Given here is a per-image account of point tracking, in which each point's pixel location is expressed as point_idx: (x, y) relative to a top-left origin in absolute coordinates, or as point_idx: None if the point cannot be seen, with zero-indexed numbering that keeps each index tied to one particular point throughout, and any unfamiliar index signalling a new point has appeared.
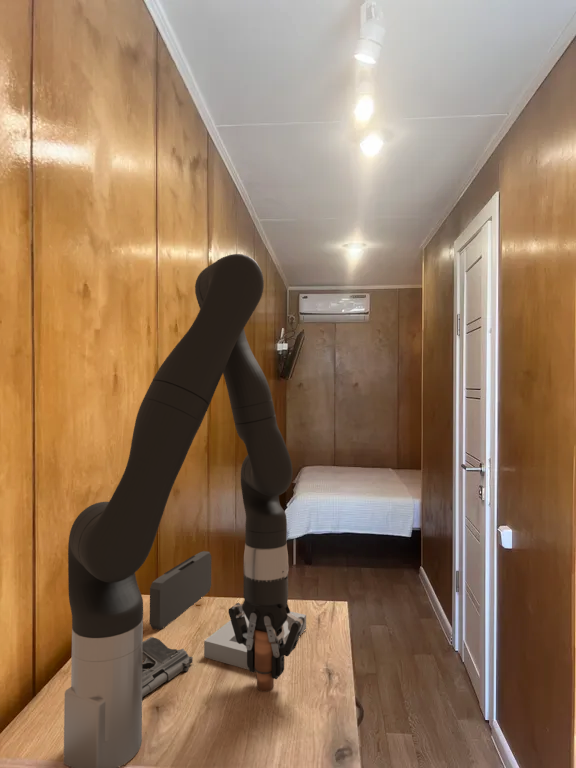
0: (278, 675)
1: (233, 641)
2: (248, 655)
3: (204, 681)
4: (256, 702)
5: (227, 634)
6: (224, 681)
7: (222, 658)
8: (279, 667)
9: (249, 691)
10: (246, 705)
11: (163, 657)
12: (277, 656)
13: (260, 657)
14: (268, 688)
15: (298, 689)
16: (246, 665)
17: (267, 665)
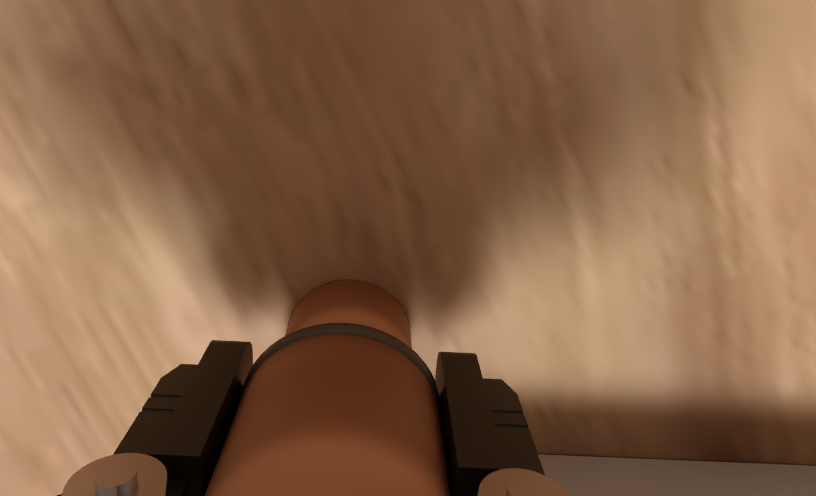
0: (189, 367)
1: None
2: (517, 446)
3: (809, 227)
4: (324, 147)
5: None
6: (660, 281)
7: (773, 481)
8: (155, 409)
9: (432, 244)
10: (379, 85)
11: None
12: (109, 462)
13: (332, 411)
14: (301, 306)
15: (118, 387)
16: (568, 472)
17: (265, 383)
